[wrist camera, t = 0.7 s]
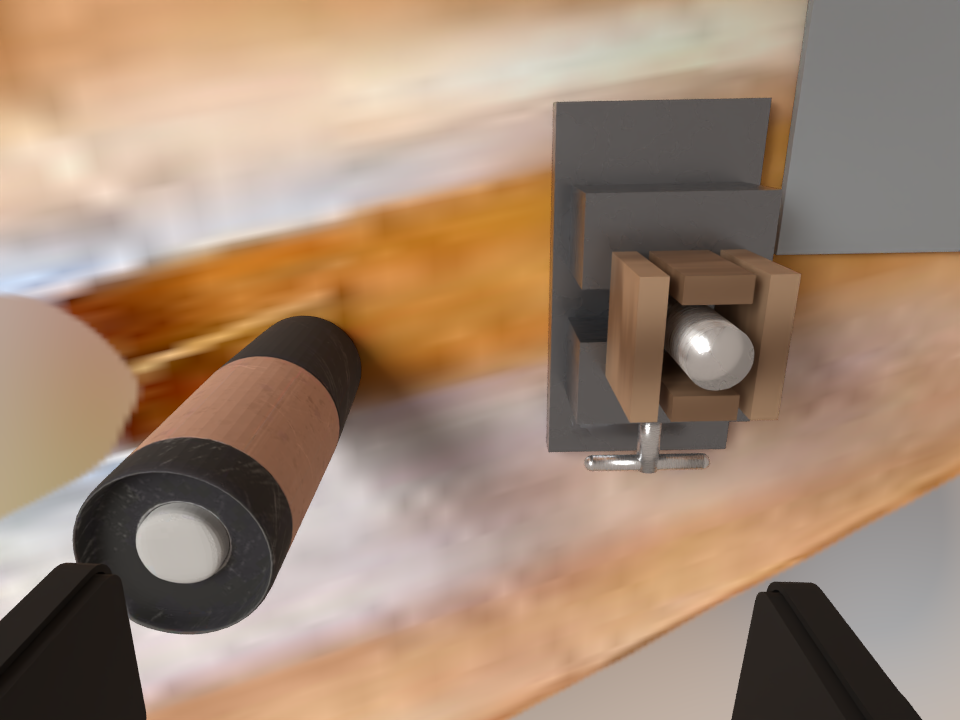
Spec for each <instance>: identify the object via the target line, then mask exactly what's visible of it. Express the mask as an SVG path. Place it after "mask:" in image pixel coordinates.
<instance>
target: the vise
mask: <svg viewBox="0 0 960 720" xmlns="http://www.w3.org/2000/svg"><path fill="white" fill-rule="evenodd" d="M771 99H772V98H741V99H689V100H637V101H585V102H555V103H553V144H552V193H551V241H550V289H549V338H548V386H547V434H546V442H547V447H548V451H549V452H578V451H632V450H637V451H636V455H591V456H588V457H587V458H586V459H585V461H584V465H585V467H586V469H587V470H589V471H631V470H638V471H640V472H643V473H655V472H656V471H657V470H685V469H705V468H707V467H708V466H709V465H710V459H709V457H708V456H707V455H706V454H703V453H691V454H659V451H660V450H685V449H725V448H726V441H727V433H728V425H729V422H735V421H690V422H671V421H670V420H669V418H668V417H667V415H666V414H665V412H664V411H663V409H662V408H661V406H660V405H659V408H658V419H657V422H637V423H630V422H629V420H628V418H627V416H626V414H625V413H624V411H623V409H622V407H621V405H620V403H619V401H618V399H617V397H616V395H615V393H614V392H613V390H612V388H611V386H610V384H609V382H608V380H607V378H606V376H605V372H606V354H607V336H608V318H609V299H610V281H611V263H612V252H627V251H637V252H638V253H640V254H641V255H642V256H644V257H645V258H646V259H648V260H649V251H679V250H709V251H711V252H713V253H715V254H717V255H719V256H720V252H721V250H732V249H746V250H748V251H751V252H753V253H755V254H757V255H760V256H762V257H764V258H766V259H769V260H771V261H773V254H774V247H775V240H776V233H777V226H778V219H779V212H780V205H781V198H782V191H783V190H782V189H777V188H772V187H767V186H762V185H760V182H761V175H762V167H763V159H764V152H765V144H766V137H767V129H768V121H769V114H770V106H771ZM663 353H669V354H670V355H671V357H672V358H673V359H674V360H675V361H676V362H677V364H678V365H679V366H680V367H681V368H682V369H683V371H684V372H685V373H686V374H687V375H688V376H689V378H690V379H691V380H692V381H693V382H694V383H695V384H696V385H698V386H699V387H701V388H704V389H707V390H714V391H717V390H724V389H728V388H730V387H732V386H734V385H736V384H738V383H739V382H740V381H742V380H743V379H744V378H745V376H746V375H747V374H748V373H749V371H750V369H751V367H752V364H753V361H754V348H753V344H752V342H751V340H750V339H749V337H748V336H747V335H746V334H745V333H744V332H742V331H741V330H740V329H738V328H737V327H736V326H734V325H733V324H732V323H730V322H729V321H728V320H727V319H725V318H724V317H723V316H721V315H720V314H719V313H717V312H716V311H715V310H714V305H681V304H680V303H679V302H678V301H677V300H676V299H674V298H673V297H672V296H671V295H670V294H668V305H667V317H666V328H665V339H664V351H663ZM737 421H750V420H749V419H748V417H747V416H746V415H745V414H744V413H743V412H742V411H741V410H740V409H739V408H738V413H737Z"/></svg>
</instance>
